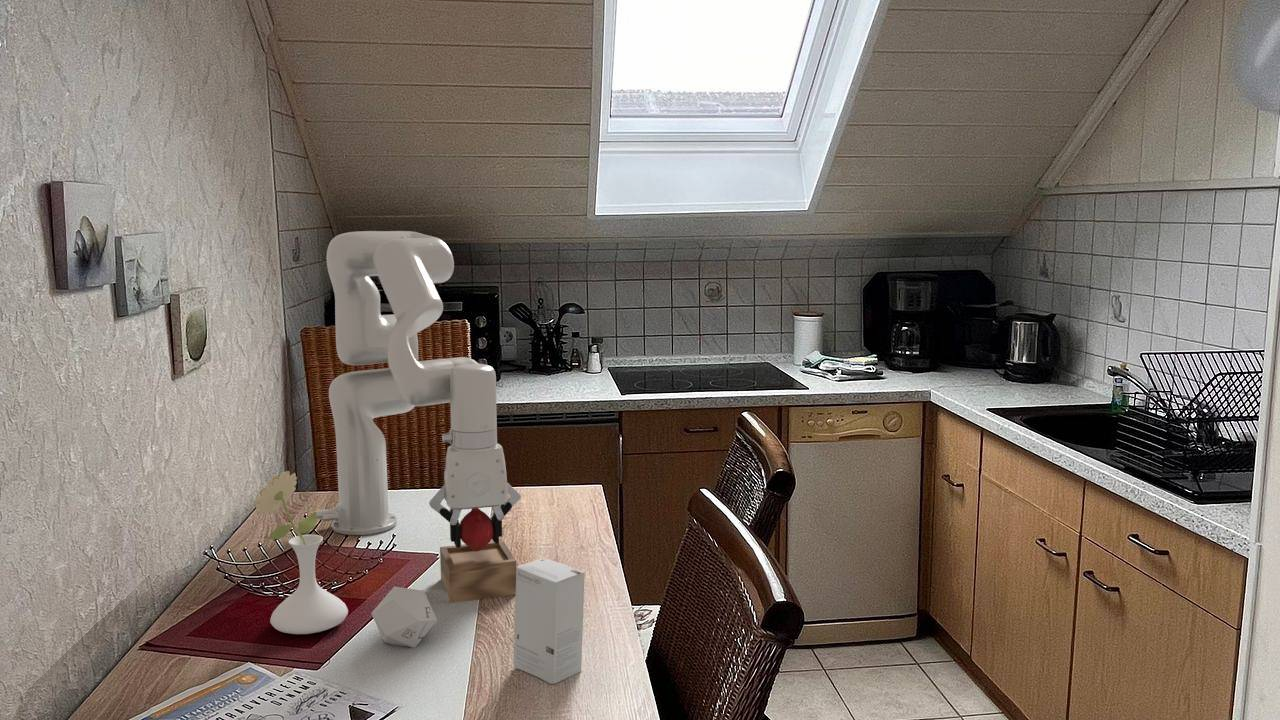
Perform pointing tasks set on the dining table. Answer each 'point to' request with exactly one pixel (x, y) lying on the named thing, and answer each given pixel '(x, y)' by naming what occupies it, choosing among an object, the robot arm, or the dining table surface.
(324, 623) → the flower in vase
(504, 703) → the dining table surface
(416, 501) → the dining table surface
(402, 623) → the die
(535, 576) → the skincare box
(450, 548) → the walnut box
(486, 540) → the onion
